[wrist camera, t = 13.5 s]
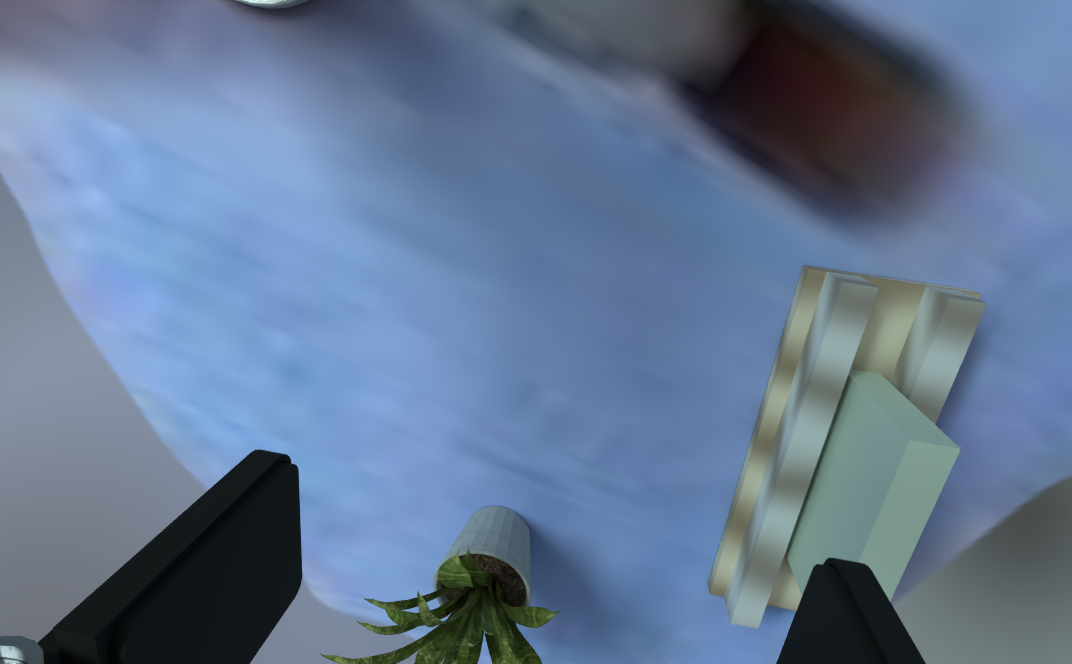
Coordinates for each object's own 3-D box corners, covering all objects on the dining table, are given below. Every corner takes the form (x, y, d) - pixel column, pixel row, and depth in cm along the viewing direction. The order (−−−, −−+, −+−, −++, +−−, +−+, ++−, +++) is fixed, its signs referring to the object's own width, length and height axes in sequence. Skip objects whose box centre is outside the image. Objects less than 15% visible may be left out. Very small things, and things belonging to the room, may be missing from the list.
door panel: (841, 367, 36) (909, 440, 27) (879, 373, 36) (961, 448, 27) (780, 540, 41) (822, 646, 32) (813, 547, 41) (864, 655, 32)
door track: (803, 265, 35) (822, 279, 32) (970, 289, 34) (1008, 306, 31) (707, 584, 44) (715, 620, 41) (837, 609, 43) (856, 648, 40)
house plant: (381, 456, 44) (258, 628, 29) (550, 431, 41) (512, 606, 26) (434, 597, 49) (351, 810, 33) (590, 582, 46) (578, 808, 31)
